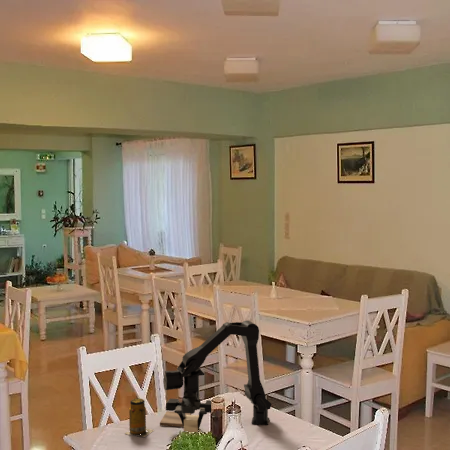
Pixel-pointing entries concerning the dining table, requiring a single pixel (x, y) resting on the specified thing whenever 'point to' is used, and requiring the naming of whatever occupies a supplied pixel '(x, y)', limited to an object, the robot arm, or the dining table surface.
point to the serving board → (172, 419)
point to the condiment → (138, 418)
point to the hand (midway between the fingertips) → (191, 427)
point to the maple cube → (191, 423)
